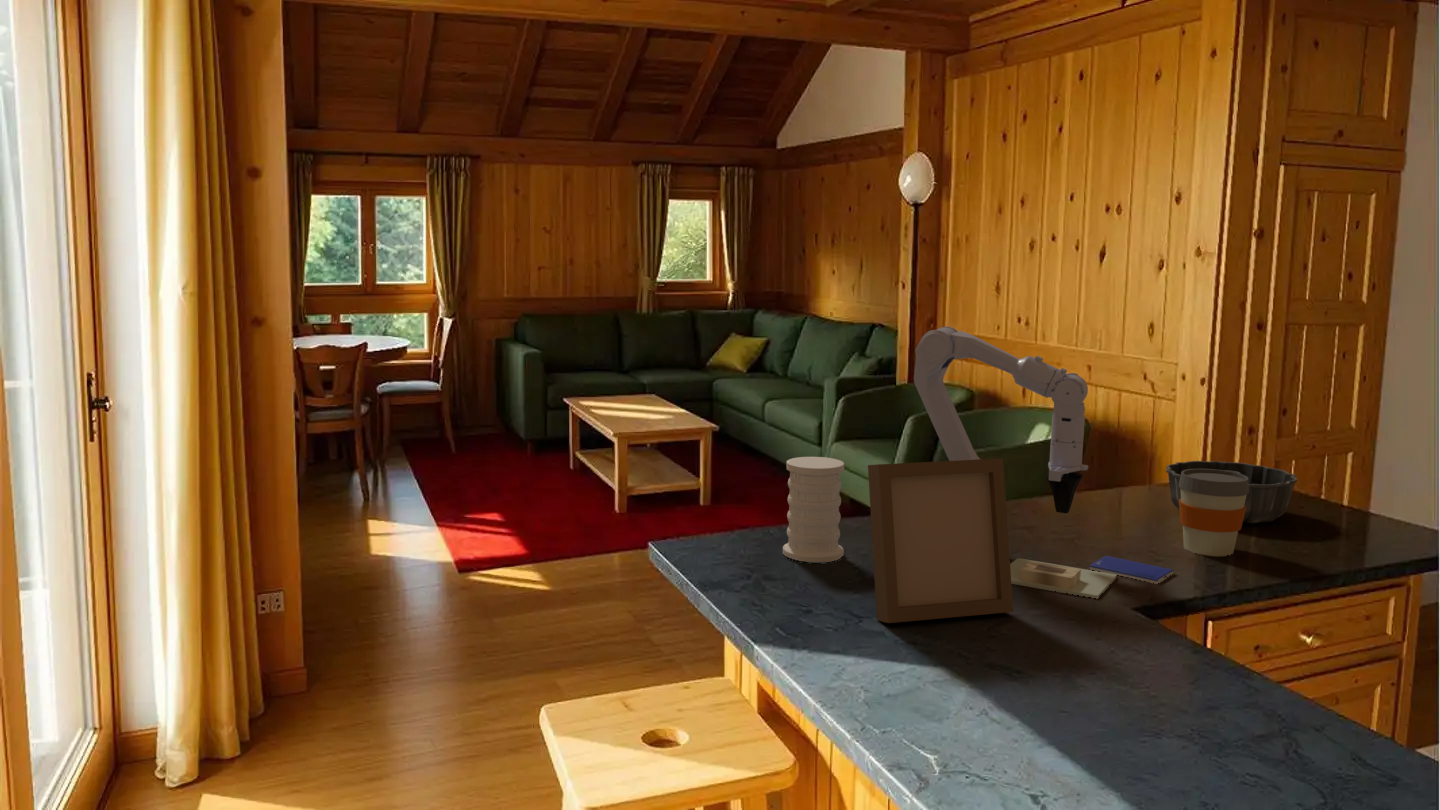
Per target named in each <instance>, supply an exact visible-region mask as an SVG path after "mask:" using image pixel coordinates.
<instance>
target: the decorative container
mask: <svg viewBox="0 0 1440 810" xmlns="http://www.w3.org/2000/svg"><path fill="white" fill-rule="evenodd" d="M785 467H786V470H787V471H788V472H789V478H788V481H787V486H788V489H789V494H788V496H787V504H788V506H789V507H788V509H789V510H788V511H787V514H786V517H787V521H788V527H787V528H786V535H787V538H788V542H787V543H785V544H784V545H783V546H782V555H783V554H784V555H785V556H787V557H789V558H792V559H795V560H799V561H806V562H830V561H834V560H838V559H840V558H841V557H842V556H843V557H844V547H842V545H840V544H839V539H840V536H841V529H840V528H839V523H840V521H841V517H842V515H841V513H840V506H841V504H842V497H841V495H840V490H841V488H842V485H843V484H842V480H841V473H843V472H844V471H845V462H844V461H842V460H840V459H837V458H833V457H825V456H800V457H793V458H789V459H788V460H786V466H785ZM840 560H841V559H840ZM838 561H839V560H838Z"/></svg>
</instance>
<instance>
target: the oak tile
mask: <svg viewBox="0 0 1440 810" xmlns="http://www.w3.org/2000/svg"><path fill="white" fill-rule="evenodd" d="M1034 561H1035V560H1032V561H1029V562H1028V563H1027V564H1026V565H1025V566H1023V567H1022V568H1021V569H1020V580H1022V581H1027V582H1033V583H1039V584H1044V585H1050V586H1055V587H1061V588H1067V589H1072V588H1073V587H1074V586H1075V585H1076V584H1077V583H1078V582H1079V581H1080V576H1081V569H1082V568H1080V569H1076V568H1077V567H1074V568H1070V567H1071V566H1068V567H1064V566H1065V565H1062V566H1058V565H1059V564H1056V565H1052V564H1053V563H1050V564H1046V563H1047V562H1044V563H1040V562H1041V561H1038V562H1034Z"/></svg>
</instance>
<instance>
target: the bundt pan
mask: <svg viewBox="0 0 1440 810" xmlns="http://www.w3.org/2000/svg"><path fill="white" fill-rule="evenodd" d="M1187 469H1216V470H1224V471H1230V472H1235V473H1239V474H1242V475H1245V476H1247V477H1248V481H1249V493H1248V494H1247V495H1246V500H1245V504H1244V505H1245V506H1246V510H1245V514H1244V519H1243V522H1244V523H1247V524H1259V523H1261V522H1262V523H1263V524H1264V523H1270V522H1273V521H1275V520H1276V519H1278V518H1280V517H1282V516H1283V515H1284V514H1285V513H1286V512H1287V510H1288V508H1289V506H1290V502H1291V498H1292V494H1293V490H1294V487H1295V484H1297V482H1298V478H1297V477H1296V474H1293V473H1289V472H1288V471H1286V470H1284V469H1281V468H1280V469H1278V468H1276V467H1275V468H1273V467H1269V466H1265V465H1256V464H1252V463H1251V464H1250V463H1244V462H1238V461H1237V462H1235V461H1221V460H1220V461H1218V460H1213V461H1209V460H1208V461H1207V460H1191V461H1188V460H1187V461H1185V462H1183V461H1182V462H1181V461H1180V462H1179V461H1176V462H1175V463H1172V464H1168V465H1166V469H1165V472H1166V473H1168V474H1167V475H1168V484H1169V485H1168V486H1169V493H1170V499H1171V502H1172V504H1173V505H1174V506H1175V507H1176V508H1177V509H1178V510H1179V499H1181V489H1180V487H1179V481H1180V476H1181V472H1182V471H1183V470H1187Z"/></svg>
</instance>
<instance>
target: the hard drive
mask: <svg viewBox="0 0 1440 810" xmlns="http://www.w3.org/2000/svg"><path fill="white" fill-rule="evenodd" d="M1089 569H1090V570H1095V571H1100V572H1104V573H1110V574H1116V575H1119V576H1118V577H1120V576H1124V577H1123V578H1125V577H1129V578H1128V579H1130V578H1133V579H1132V580H1134V579H1137V580H1136V581H1139V580H1141V581H1140V582H1144V581H1146V582H1145V583H1148V582H1150V583H1149V584H1153V583H1154V585H1159V584H1160V583H1162V582H1164V581H1165V580H1167V579H1168V578H1170V577H1171V576H1173V575H1174V569H1171V568H1167V567H1160V566H1158V565H1153V564H1146V563H1142V562H1138V561H1134V560H1128V559H1125V558H1118V557H1115V556H1109V555H1104V556H1103V557H1101V558H1099V559H1098V560H1096V561H1093V562H1092V563H1090V565H1089ZM1089 569H1088V570H1089ZM1172 574H1173V575H1172ZM1170 575H1171V576H1170ZM1169 576H1170V577H1169ZM1167 577H1168V578H1167ZM1164 579H1165V580H1164ZM1158 583H1159V584H1158Z"/></svg>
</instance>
